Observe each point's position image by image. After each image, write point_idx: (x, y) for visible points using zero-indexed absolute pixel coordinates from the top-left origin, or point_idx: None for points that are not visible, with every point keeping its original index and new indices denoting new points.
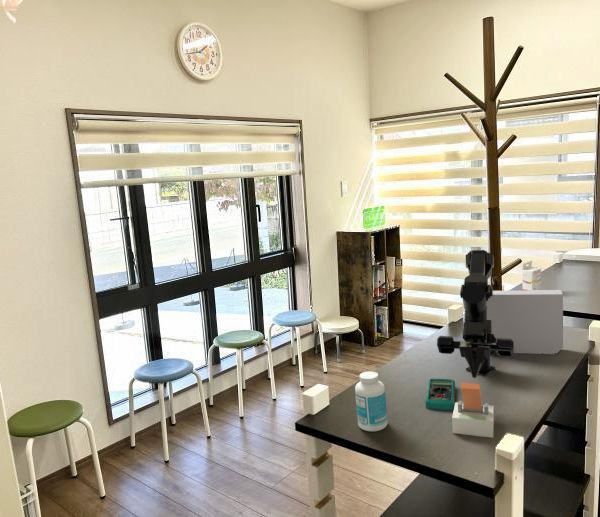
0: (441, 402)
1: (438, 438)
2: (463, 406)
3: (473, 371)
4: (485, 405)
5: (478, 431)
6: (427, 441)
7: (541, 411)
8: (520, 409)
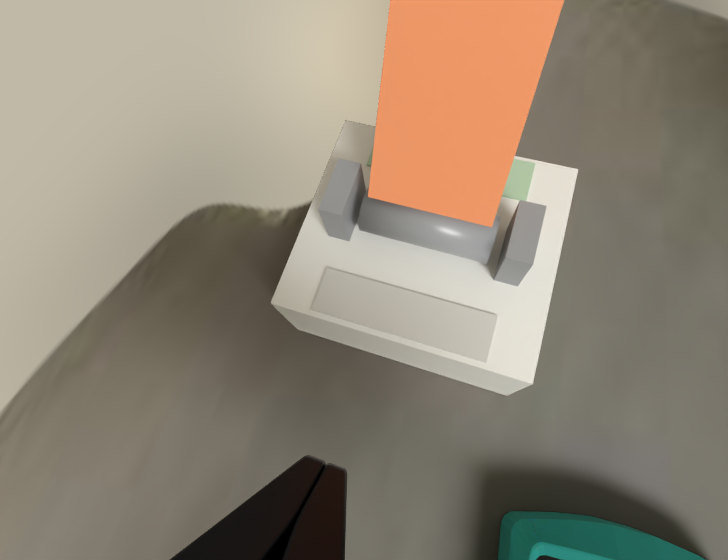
0: (617, 537)
1: (625, 178)
2: (498, 217)
3: (312, 509)
4: (347, 181)
5: None
6: (683, 154)
7: (7, 415)
8: (98, 455)
